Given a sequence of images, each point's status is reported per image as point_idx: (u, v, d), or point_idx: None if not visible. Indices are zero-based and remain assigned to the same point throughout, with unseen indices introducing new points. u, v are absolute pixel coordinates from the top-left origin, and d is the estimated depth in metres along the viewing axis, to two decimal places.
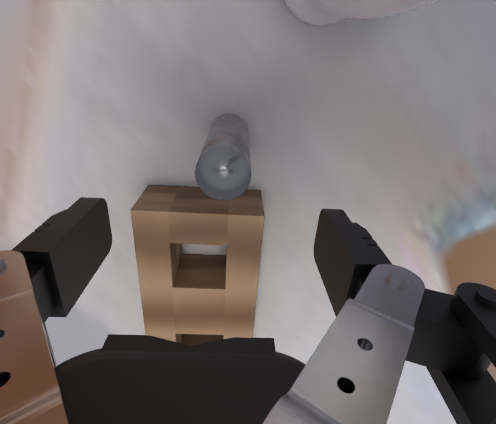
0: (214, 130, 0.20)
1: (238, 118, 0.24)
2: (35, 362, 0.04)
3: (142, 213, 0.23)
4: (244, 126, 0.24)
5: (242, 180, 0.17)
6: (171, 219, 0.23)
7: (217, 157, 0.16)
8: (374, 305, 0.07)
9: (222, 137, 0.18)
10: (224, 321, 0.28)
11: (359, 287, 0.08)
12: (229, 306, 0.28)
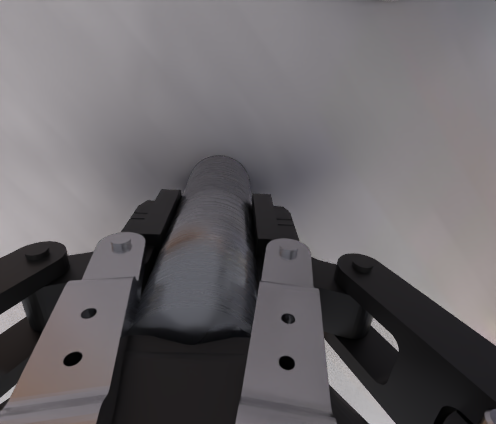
0: (186, 205, 0.10)
1: (234, 164, 0.14)
2: (103, 353, 0.05)
3: None
4: (244, 180, 0.14)
5: None
6: None
7: (176, 328, 0.06)
8: (279, 279, 0.07)
9: (196, 245, 0.08)
10: None
11: (262, 260, 0.09)
12: None
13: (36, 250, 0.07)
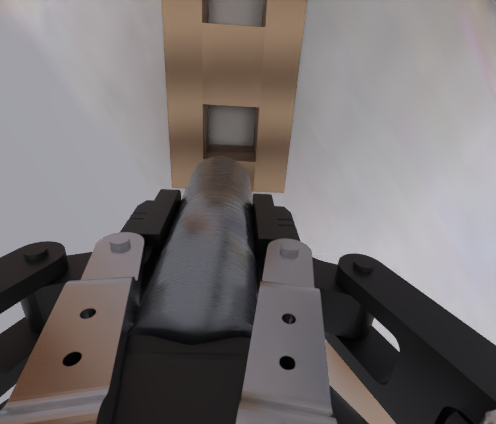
0: (187, 206, 0.10)
1: (235, 165, 0.14)
2: (102, 353, 0.05)
3: None
4: (245, 181, 0.14)
5: None
6: None
7: (178, 330, 0.06)
8: (279, 279, 0.07)
9: (197, 246, 0.08)
10: (261, 83, 0.24)
11: (263, 260, 0.09)
12: (269, 57, 0.23)
13: (35, 250, 0.07)
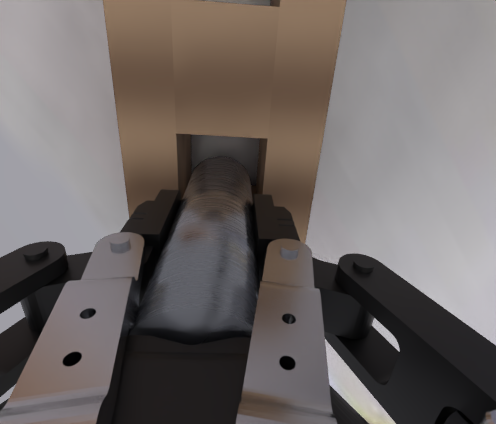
0: (187, 206, 0.10)
1: (235, 165, 0.14)
2: (103, 353, 0.05)
3: None
4: (245, 181, 0.14)
5: None
6: None
7: (178, 330, 0.06)
8: (280, 279, 0.07)
9: (197, 246, 0.08)
10: (271, 101, 0.15)
11: (263, 260, 0.09)
12: (285, 59, 0.14)
13: (35, 251, 0.07)
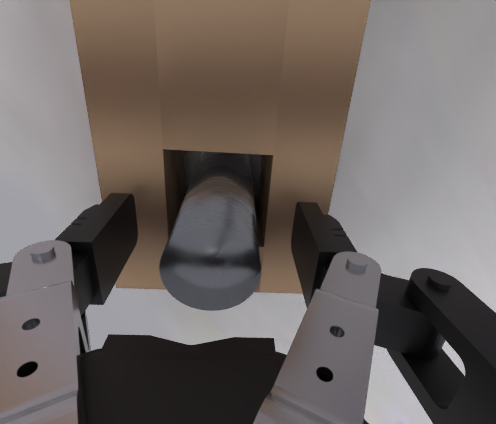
0: (200, 174, 0.13)
1: None
2: (61, 356, 0.05)
3: None
4: (246, 160, 0.16)
5: (245, 281, 0.09)
6: None
7: (199, 245, 0.09)
8: (339, 292, 0.07)
9: (210, 197, 0.10)
10: (278, 111, 0.12)
11: (324, 274, 0.09)
12: (295, 60, 0.11)
13: None
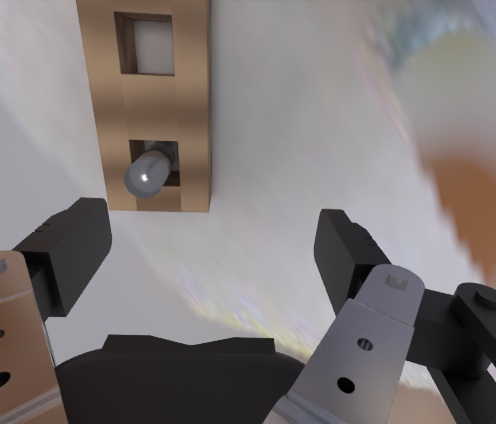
0: (146, 150, 0.29)
1: None
2: (35, 362, 0.04)
3: None
4: (174, 146, 0.32)
5: (156, 184, 0.25)
6: None
7: (137, 170, 0.25)
8: (374, 305, 0.07)
9: (145, 156, 0.26)
10: (177, 122, 0.28)
11: (359, 287, 0.08)
12: (181, 101, 0.27)
13: None
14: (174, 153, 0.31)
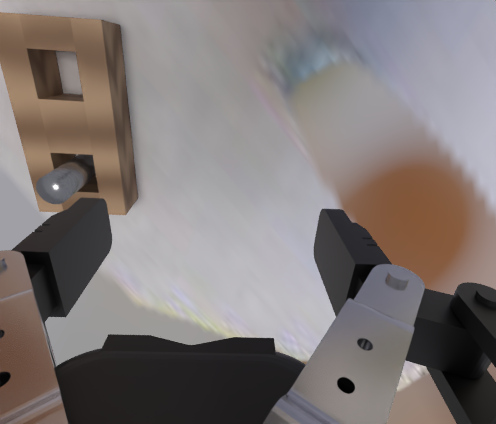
0: None
1: None
2: (35, 362, 0.04)
3: None
4: None
5: (63, 193, 0.30)
6: (23, 22, 0.28)
7: (46, 181, 0.30)
8: (374, 305, 0.07)
9: (58, 168, 0.31)
10: (90, 138, 0.33)
11: (359, 287, 0.08)
12: (91, 121, 0.32)
13: None
14: None
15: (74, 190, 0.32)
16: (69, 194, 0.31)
